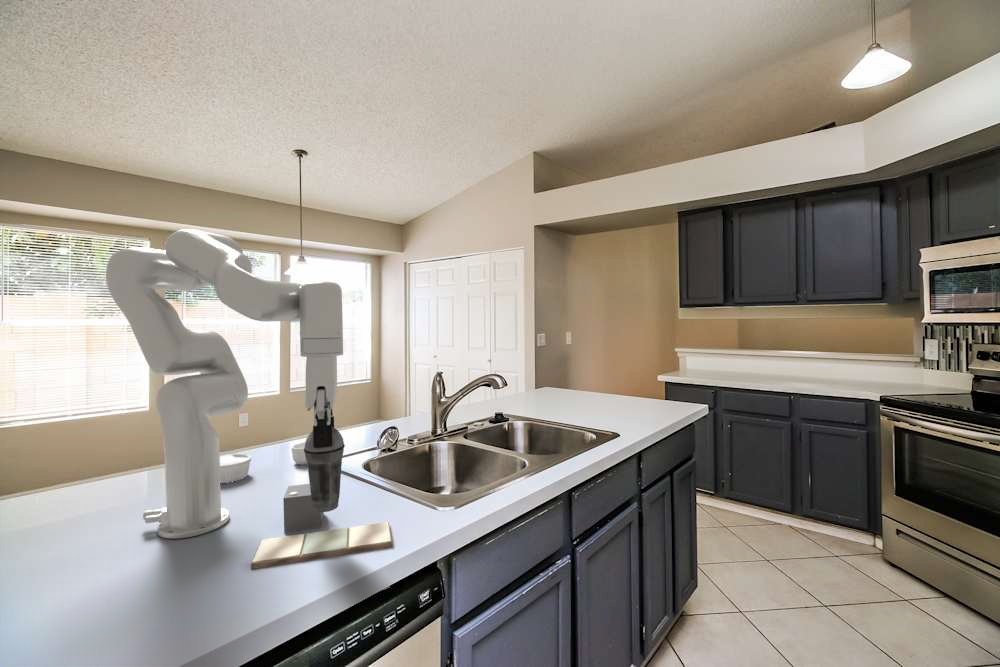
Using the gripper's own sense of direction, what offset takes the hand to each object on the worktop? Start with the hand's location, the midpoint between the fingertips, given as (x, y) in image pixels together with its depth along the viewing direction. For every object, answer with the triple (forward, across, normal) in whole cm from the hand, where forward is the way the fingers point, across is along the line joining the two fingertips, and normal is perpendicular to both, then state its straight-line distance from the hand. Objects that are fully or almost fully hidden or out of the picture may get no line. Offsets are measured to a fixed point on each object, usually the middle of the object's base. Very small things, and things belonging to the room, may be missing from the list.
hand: (324, 441), depth 86 cm
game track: (+20, 0, 0) cm, 20 cm away
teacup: (+20, -56, -8) cm, 60 cm away
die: (+20, -12, -5) cm, 24 cm away
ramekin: (+20, -48, -28) cm, 59 cm away
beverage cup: (+13, 0, 0) cm, 13 cm away
